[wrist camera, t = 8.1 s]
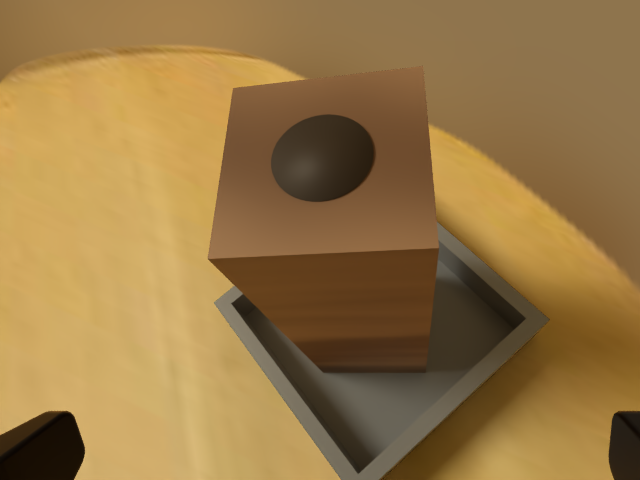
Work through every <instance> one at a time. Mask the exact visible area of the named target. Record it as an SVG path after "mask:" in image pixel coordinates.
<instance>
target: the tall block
mask: <svg viewBox="0 0 640 480" xmlns="http://www.w3.org/2000/svg"><path fill="white" fill-rule="evenodd" d="M438 254H439V241H438V230H437V219H436V207H435V196H434V184H433V173H432V162H431V150H430V139H429V128H428V116H427V105H426V93H425V82H424V71H423V66H419V67H411V68H402V69H393V70H385V71H376V72H368V73H359V74H350V75H342V76H334V77H325V78H317V79H308V80H299V81H290V82H282V83H273V84H265V85H256V86H248V87H239V88H233V93H232V99H231V106H230V113H229V119H228V126H227V133H226V140H225V146H224V153H223V160H222V166H221V173H220V180H219V187H218V193H217V200H216V207H215V213H214V220H213V227H212V234H211V240H210V247H209V254H208V260H209V261H210V262H211V263H212V264H213V265H214V266H215V267H216V268H217V269H218V270H219V271H221V272H222V273H223V274H224V275H225V276H226V277H227V278H228V279H229V280H230V281H231V282H232V283H233V284H234V285H235V286H236V287H237V288H238V289H239V290H240V291H241V292H242V293H243V294H244V295H245V296H246V297H247V298H248V299H249V300H250V301H251V302H252V303H253V304H254V305H255V306H256V307H257V308H258V309H259V310H260V311H261V312H262V313H263V314H264V315H265V316H266V317H267V318H268V319H269V320H270V321H271V322H272V323H273V324H274V325H275V326H276V327H277V328H278V329H279V330H280V331H281V332H282V333H283V334H284V335H285V336H286V337H287V338H288V339H290V340H291V341H292V342H293V343H294V344H295V345H296V346H297V347H298V348H299V349H300V350H301V351H302V352H303V353H304V354H305V355H306V356H307V357H308V358H309V359H310V360H311V361H312V362H313V363H314V364H315V365H316V366H317V367H318V368H319V369H320V370H321V371H322V372H323V373H426V365H427V356H428V347H429V337H430V328H431V319H432V309H433V300H434V291H435V281H436V272H437V263H438Z"/></svg>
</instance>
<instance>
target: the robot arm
mask: <svg viewBox="0 0 640 480" xmlns="http://www.w3.org/2000/svg"><path fill="white" fill-rule="evenodd" d="M84 455H85V447H84V443H83V440H82V437H81V434H80V432H79V429H78V426H77V423H76V420H75V417H74V415H73V414H72V413H71V412H68V411H48V412H45V413H43V414H41V415H39V416H37V417H35V418H33V419H31V420H29V421H27V422H25V423H23V424H21V425H19V426H17V427H16V428H14V429H12V430H10V431H8V432H6V433H4V434H2V435H0V480H74V479H75V476H76V474H77V472H78V470H79V468H80V466H81V464H82V462H83V459H84ZM609 464H610V469H611V472H612V475H613V478H614V480H640V411H618V412H616V413H615V414H614V416H613V418H612V426H611V436H610V446H609Z"/></svg>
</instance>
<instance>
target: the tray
mask: <svg viewBox="0 0 640 480" xmlns="http://www.w3.org/2000/svg"><path fill="white" fill-rule="evenodd" d="M437 230H438V241H439V254H438V263H437V272H436V281H435V291H434V300H433V309H432V319H431V328H430V337H429V347H428V356H427V365H426V373H323V372H322V371H321V370H320V369H319V368H318V367H317V366H316V365H315V364H314V363H313V362H312V361H311V360H310V359H309V358H308V357H307V356H306V355H305V354H304V353H303V352H302V351H301V350H300V349H299V348H298V347H297V346H296V345H295V344H294V343H293V342H292V341H291V340H290V339H288V338H287V337H286V336H285V335H284V334H283V333H282V332H281V331H280V330H279V329H278V328H277V327H276V326H275V325H274V324H273V323H272V322H271V321H270V320H269V319H268V318H267V317H266V316H265V315H264V314H263V313H262V312H261V311H260V310H259V309H258V308H257V307H256V306H255V305H254V304H253V303H252V302H251V301H250V300H249V299H248V298H247V297H246V296H245V295H244V294H243V293H242V292H241V291H240V290H239V289H238V288H237V287H236V286H234V287H232V288H231V289H230V290H229V291H228V292H226V293H225V294H224V295H223V296H221V297H220V298H219V299H218V300H216V301H215V302H214V304H215V305H216V307H217V308H218V309H219V311H220V312H221V314H222V315H223V316H224V318H225V319H226V320H227V322H228V323H229V325H230V326H231V327H232V329H233V330H234V332H235V333H236V334H237V336H238V337H239V338H240V340H241V341H242V343H243V344H244V345H245V347H246V348H247V350H248V351H249V352H250V354H251V355H252V357H253V358H254V359H255V361H256V362H257V363H258V365H259V366H260V368H261V369H262V370H263V372H264V373H265V375H266V376H267V377H268V379H269V380H270V381H271V383H272V384H273V386H274V387H275V388H276V390H277V391H278V393H279V394H280V395H281V397H282V398H283V400H284V401H285V402H286V404H287V405H288V406H289V408H290V409H291V411H292V412H293V413H294V415H295V416H296V418H297V419H298V420H299V422H300V423H301V424H302V426H303V427H304V429H305V430H306V431H307V433H308V434H309V436H310V437H311V438H312V440H313V441H314V443H315V444H316V445H317V447H318V448H319V449H320V451H321V452H322V454H323V455H324V456H325V458H326V459H327V461H328V462H329V463H330V465H331V466H332V467H333V469H334V470H335V472H336V473H337V474H338V476H339V477H340V479H341V480H381V479H382V478H383V477H385V476H386V475H387V474H388V473H389V472H390V471H391V470H392V469H393V468H394V467H395V466H396V465H397V464H398V463H399V462H401V461H402V460H403V459H404V458H405V457H406V456H407V455H408V454H409V453H410V452H411V451H412V450H413V449H414V448H415V447H417V446H418V445H419V444H420V443H421V442H422V441H423V440H424V439H425V438H426V437H427V436H428V435H429V434H430V433H431V432H433V431H434V430H435V429H436V428H437V427H438V426H439V425H440V424H441V423H442V422H443V421H444V420H445V419H446V418H447V417H448V416H450V415H451V414H452V413H453V412H454V411H455V410H456V409H457V408H458V407H459V406H460V405H461V404H462V403H463V402H464V401H466V400H467V399H468V398H469V397H470V396H471V395H472V394H473V393H474V392H475V391H476V390H477V389H478V388H479V387H480V386H482V385H483V384H484V383H485V382H486V381H487V380H488V379H489V378H490V377H491V376H492V375H493V374H494V373H495V372H496V371H498V370H499V369H500V368H501V367H502V366H503V365H504V364H505V363H506V362H507V361H508V360H509V359H510V358H511V357H512V356H514V355H515V354H516V353H517V352H518V351H519V350H520V349H521V348H522V347H523V346H524V345H525V344H526V343H527V342H528V341H529V340H531V339H532V338H533V337H534V336H535V335H536V334H537V333H538V332H539V330H540V329H541V328H542V327H543V326H544V325H545V324H546V323H547V322H548V321H549V320H550V319H548V318H547V317H546V316H545V315H544V314H543V313H542V312H540V311H539V310H538V309H537V308H536V307H535V306H534V305H532V304H531V303H530V302H529V301H528V300H527V299H525V298H524V297H523V296H522V295H521V294H520V293H519V292H517V291H516V290H515V289H514V288H513V287H512V286H510V285H509V284H508V283H507V282H506V281H505V280H504V279H502V278H501V277H500V276H499V275H498V274H497V273H496V272H494V271H493V270H492V269H491V268H490V267H489V266H487V265H486V264H485V263H484V262H483V261H482V260H481V259H479V258H478V257H477V256H476V255H475V254H474V253H473V252H471V251H470V250H469V249H468V248H467V247H466V246H464V245H463V244H462V243H461V242H460V241H459V240H458V239H456V238H455V237H454V236H453V235H452V234H451V233H450V232H448V231H447V230H446V229H445V228H444V227H443V226H441V225H440V224H439V223H438V222H437Z"/></svg>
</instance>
